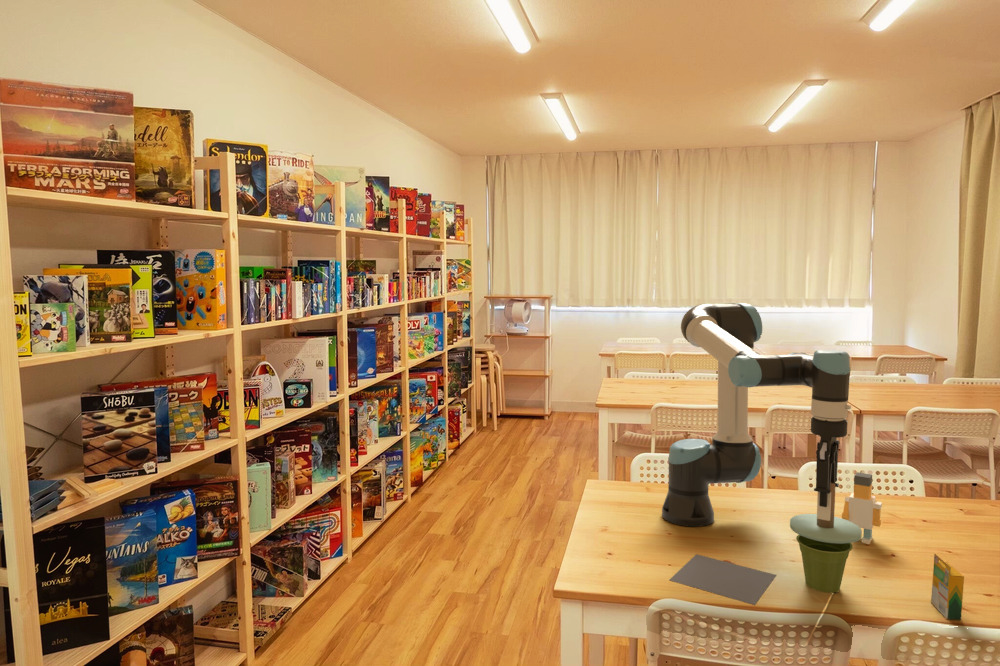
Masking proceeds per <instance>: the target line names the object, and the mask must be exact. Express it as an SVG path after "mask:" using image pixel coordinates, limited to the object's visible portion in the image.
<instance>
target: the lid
mask: <svg viewBox="0 0 1000 666" xmlns="http://www.w3.org/2000/svg"><path fill="white" fill-rule="evenodd" d="M835 486H836V485H835V484H834V483H832V482H831V485H830V490H831V491H830V492H831V513H830V521H827V520H822V519H817V513H802V514H797V515H794V516H792V517H791V518H790V520H789V527H790V529H791V531H792V532H794V533H795V534H796V535H801V536H803V537H806V538H809V539H812V540H816V541H821V542H827V543H837V544H844V543H852V544H853V543H856V542H859V541H860V540H862V538H863V536H862V535H863V534H862V533H863V532H862V531H863V530H862V528H860V527H859V526H858V525H856V524H854V523H852V522H850V521H848V520H845V519H842V517H838V516H835V506H836V487H835Z"/></svg>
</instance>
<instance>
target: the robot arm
mask: <svg viewBox="0 0 1000 666" xmlns="http://www.w3.org/2000/svg"><path fill="white" fill-rule="evenodd" d="M680 331H681V335H683V338H684V339H685V341H687V342H688V343H689V344H690V345H692V346H694V347H695V348H701V349H703V350H704V351H706V353H708V354H709V355H710V356H712V357H713V358H714V359H715V360H717V431H716V433H714V434H713V435H712V440H711V444H710V442H709V441H708V440H707V439H702V438H686V439H680V440H677V441H675V442H673V443H672V444H671V445H670V447H669V449H668V450H669V454H668V482H667V483H668V484H667V485H668V490H667V493H666V496H665V499H664V501H663V502H664V503H663V505H662V507H661V516H662V518H663V519H664V520H665V521H666V522H668V523H671V524H673V525H677V526H683V527H694V528H698V527H705V526H708V525H711V524H712V523H714V521H715V520H714V519H715V512H714V509H713V506H712V505H713V504H712V502H711V499H710V496H709V486H710V484H712V485H713V484H729V483H736V484H739V483H746V482H751V481H753V480H755V478H756V477H758V475H759V473H760V470H761V466H762V455H761V453H760V448H759V446H758V445H757V444H756V443H754V440H753V439H754V438H753V437H752V436H751V435H750V434H749V433H748V430H749V429H748V428H749V427H748V425H749V423H748V422H749V421H748V420H749V419H748V416H749V415H748V414H749V413H748V408H749V406H748V405H749V402H748V401H749V388H756V387H776V386H777V387H778V386H779V387H781V386H782V387H785V386H805V387H808V388H811V392H812V393H811V404H810V406H811V407H810V414H811V416H812V417H811V418H810V432H811V434H813V435H815V436H819V437H820V438H819V442H817V445H816V451H815V454H816V455H815V456H816V472H815V487H814V488H813V491H814V492H817V499H816V500H817V501H816V502H817V505H816V514H817V519H822V520H827V521H830V513H831V492H830V491H831V490H830V485H831V482H832V483H834V484H835V485H836V486H835V488H839V486H840V483H838V482H837V481H838V465H839V464H838V463H839V462H838V461H839V448H840V440H838V438H844V437H846V436H847V435H848V420H847V419H846V418H848V413H849V412H848V411H849V410H851V408H852V406H851V405H850V404H849V393H850V391H849V390H850V379H851V378H850V374H851V370H852V369H851V366H850V365H851V364H850V362H851V361H850V358H851V357H850V354H849V353H848V352H847V351H844V350H836V349H818V350H815V351H814V353H813V355H812V354H808V353H805V352H790V353H789V352H788V353H787V354H760V353H759V352H757V351H755V350H754V347H755V345H754V343H756V342H758V341H760V339H761V337H762V334H763V321H762V317H761V315H760V313H759V311H758V310H757V308H756V307H755V306H754V305H752V304H751V303H750V304H749V303H744V302H743V303H742V302H735V303H734V302H729V303H701V304H696V305H695V306H693V307H691V308H690V309H688V311H686V313H684V315H683V317H682V318H681V323H680Z"/></svg>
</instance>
